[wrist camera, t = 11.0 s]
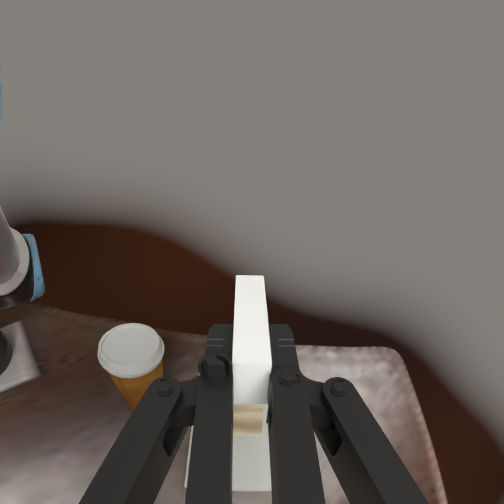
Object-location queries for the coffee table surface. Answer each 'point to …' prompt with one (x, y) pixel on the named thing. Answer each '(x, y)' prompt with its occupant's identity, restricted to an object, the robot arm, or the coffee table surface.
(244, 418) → the block
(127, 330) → the disposable coffee cup
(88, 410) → the coffee table surface
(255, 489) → the mat
